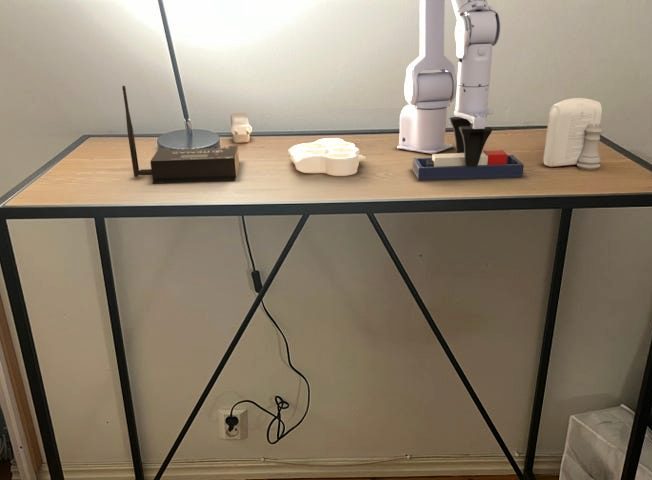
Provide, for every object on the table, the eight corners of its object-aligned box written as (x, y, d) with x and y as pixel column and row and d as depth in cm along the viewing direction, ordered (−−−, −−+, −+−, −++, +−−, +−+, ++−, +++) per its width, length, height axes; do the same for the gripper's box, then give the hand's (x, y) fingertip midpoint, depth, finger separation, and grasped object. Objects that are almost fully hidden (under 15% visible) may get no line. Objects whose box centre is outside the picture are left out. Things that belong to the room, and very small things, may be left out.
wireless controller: (239, 162, 149) (233, 74, 141) (235, 181, 137) (228, 85, 129) (143, 166, 149) (130, 78, 140) (130, 184, 137) (115, 89, 128)
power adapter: (254, 148, 161) (252, 120, 158) (232, 149, 160) (230, 122, 157) (250, 137, 170) (248, 111, 167) (229, 138, 170) (227, 112, 167)
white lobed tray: (287, 156, 153) (354, 152, 155) (298, 179, 137) (373, 174, 139) (286, 140, 151) (354, 136, 153) (297, 161, 136) (373, 156, 138)
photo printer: (584, 159, 145) (594, 94, 139) (597, 164, 142) (607, 98, 136) (539, 163, 143) (547, 98, 137) (551, 168, 139) (559, 101, 134)
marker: (427, 174, 136) (428, 156, 134) (425, 169, 139) (425, 152, 137) (505, 171, 136) (507, 154, 135) (501, 167, 139) (503, 150, 138)
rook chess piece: (604, 166, 140) (611, 124, 136) (594, 171, 137) (601, 128, 133) (582, 163, 143) (588, 121, 139) (571, 167, 140) (578, 125, 136)
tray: (418, 181, 134) (418, 168, 133) (412, 170, 141) (412, 158, 140) (522, 177, 135) (524, 164, 134) (511, 167, 141) (512, 154, 140)
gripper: (505, 90, 124) (497, 169, 130) (485, 78, 136) (479, 150, 143) (464, 91, 124) (459, 170, 130) (448, 79, 136) (444, 151, 143)
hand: (467, 160), depth 137 cm, fingers open, 7 cm apart
